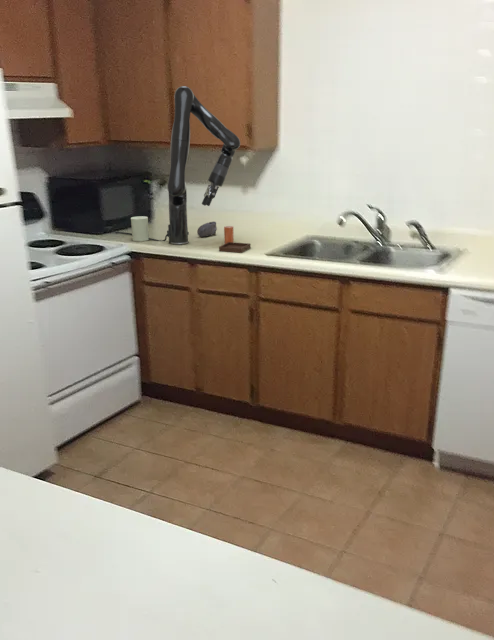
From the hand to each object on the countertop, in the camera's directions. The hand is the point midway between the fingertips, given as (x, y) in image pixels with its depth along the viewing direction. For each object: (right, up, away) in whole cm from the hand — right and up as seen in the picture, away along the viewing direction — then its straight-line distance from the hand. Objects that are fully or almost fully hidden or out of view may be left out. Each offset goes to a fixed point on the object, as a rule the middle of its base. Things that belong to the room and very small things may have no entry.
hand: (205, 205), depth 335 cm
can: (-36, -12, +24) cm, 45 cm away
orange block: (+12, -18, +9) cm, 23 cm away
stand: (+15, -23, -2) cm, 27 cm away
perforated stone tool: (-1, -9, +31) cm, 32 cm away
